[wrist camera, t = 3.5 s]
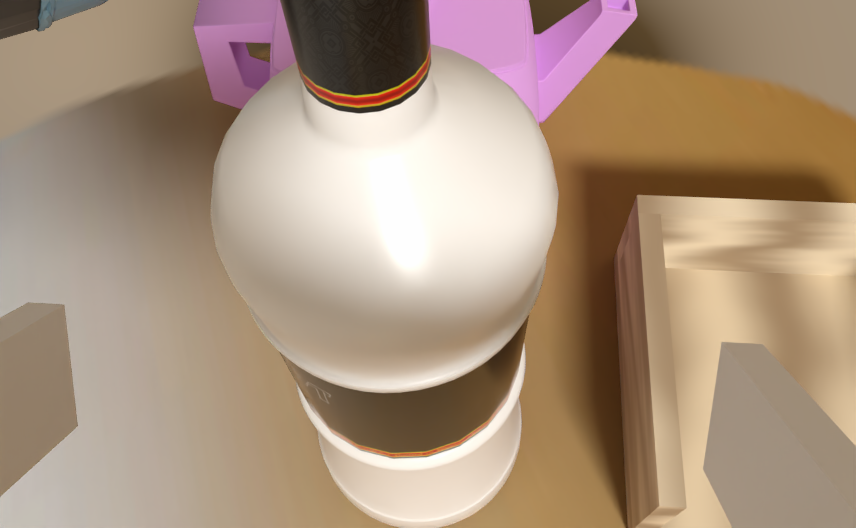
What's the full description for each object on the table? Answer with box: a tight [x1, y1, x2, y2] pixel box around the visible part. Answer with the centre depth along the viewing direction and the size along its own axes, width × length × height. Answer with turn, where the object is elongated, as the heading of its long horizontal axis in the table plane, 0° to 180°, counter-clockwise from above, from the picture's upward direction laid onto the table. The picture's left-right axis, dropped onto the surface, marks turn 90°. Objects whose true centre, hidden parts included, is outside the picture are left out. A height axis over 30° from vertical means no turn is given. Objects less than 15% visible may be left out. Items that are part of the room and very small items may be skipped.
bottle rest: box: [614, 195, 856, 528], centre depth 34 cm, size 14×14×6 cm
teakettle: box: [193, 0, 637, 126], centre depth 39 cm, size 17×17×12 cm
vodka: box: [211, 0, 559, 528], centre depth 23 cm, size 9×9×30 cm
